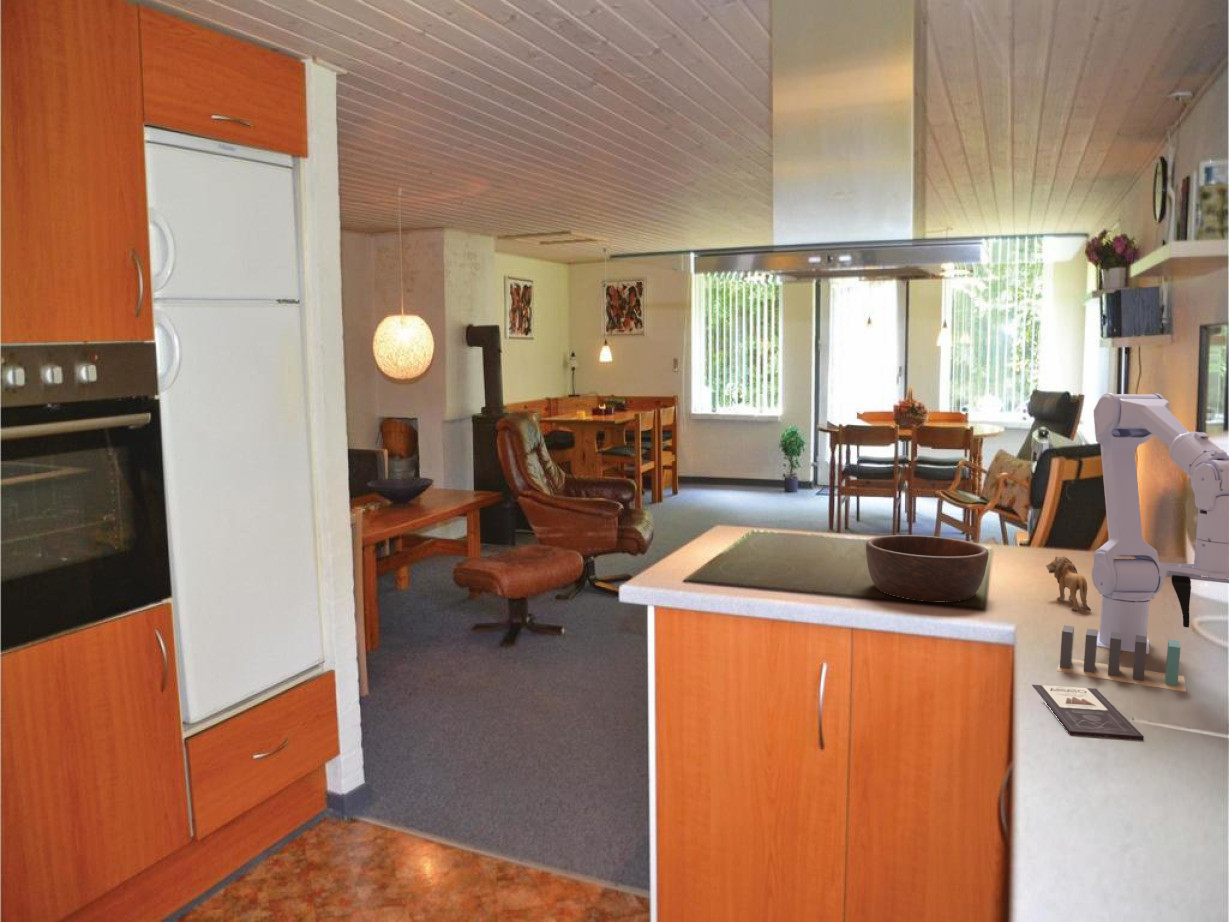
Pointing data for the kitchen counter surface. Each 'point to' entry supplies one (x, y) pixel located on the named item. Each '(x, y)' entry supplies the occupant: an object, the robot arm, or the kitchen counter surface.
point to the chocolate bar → (1087, 712)
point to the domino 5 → (1172, 662)
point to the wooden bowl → (926, 566)
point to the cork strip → (1124, 675)
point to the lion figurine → (1069, 580)
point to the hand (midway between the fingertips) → (1211, 629)
